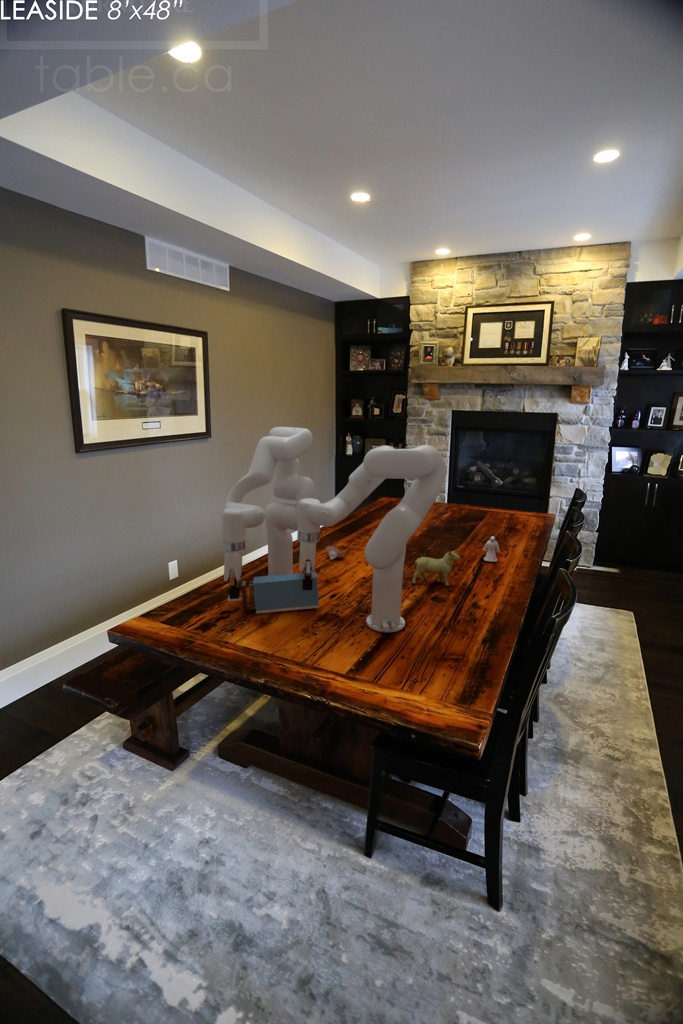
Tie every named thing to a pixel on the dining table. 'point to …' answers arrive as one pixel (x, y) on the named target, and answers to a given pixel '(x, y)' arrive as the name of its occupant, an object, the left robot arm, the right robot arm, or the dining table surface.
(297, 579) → the blue slab
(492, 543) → the figurine
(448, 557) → the toy
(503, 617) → the dining table surface
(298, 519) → the right robot arm
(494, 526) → the dining table surface
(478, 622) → the dining table surface
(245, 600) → the drawer
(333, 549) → the white lid
